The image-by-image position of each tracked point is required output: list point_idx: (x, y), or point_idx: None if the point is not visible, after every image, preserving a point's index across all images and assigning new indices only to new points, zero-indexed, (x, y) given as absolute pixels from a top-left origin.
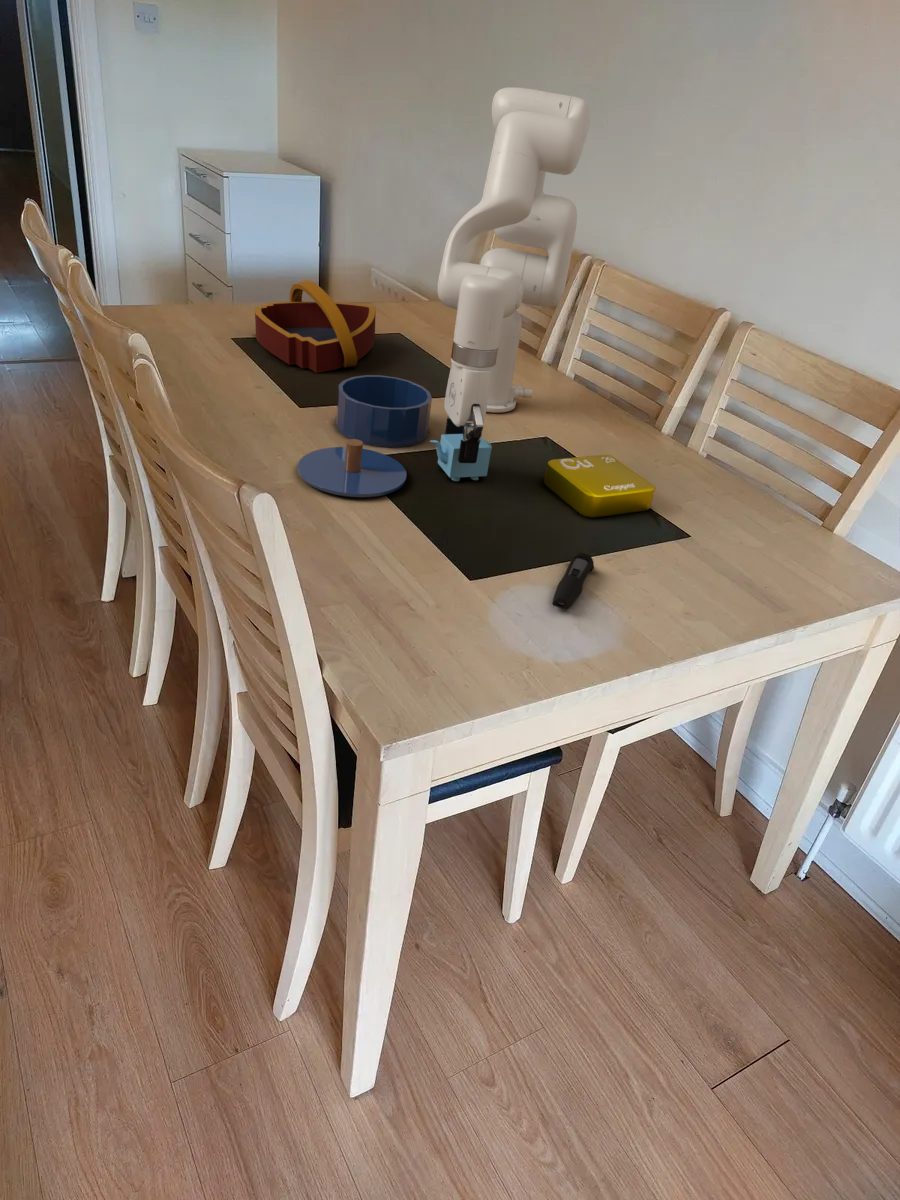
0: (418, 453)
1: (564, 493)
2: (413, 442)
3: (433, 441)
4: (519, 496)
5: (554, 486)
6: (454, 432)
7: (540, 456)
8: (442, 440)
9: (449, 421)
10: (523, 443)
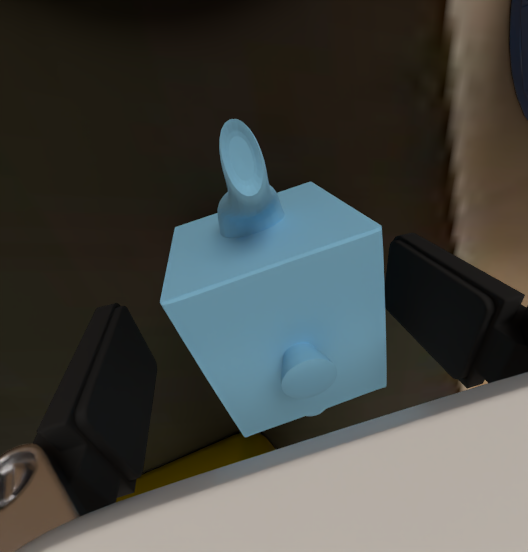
0: (433, 100)
1: (165, 482)
2: (522, 78)
3: (248, 159)
4: (155, 399)
5: (202, 463)
6: (413, 296)
7: (380, 412)
8: (341, 226)
9: (479, 305)
10: (443, 385)
